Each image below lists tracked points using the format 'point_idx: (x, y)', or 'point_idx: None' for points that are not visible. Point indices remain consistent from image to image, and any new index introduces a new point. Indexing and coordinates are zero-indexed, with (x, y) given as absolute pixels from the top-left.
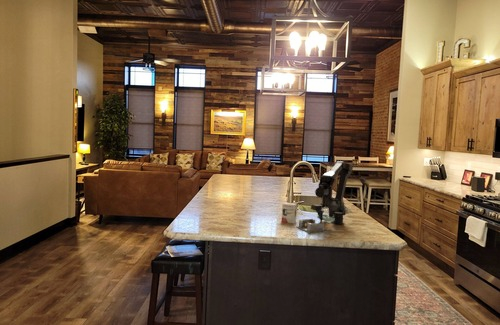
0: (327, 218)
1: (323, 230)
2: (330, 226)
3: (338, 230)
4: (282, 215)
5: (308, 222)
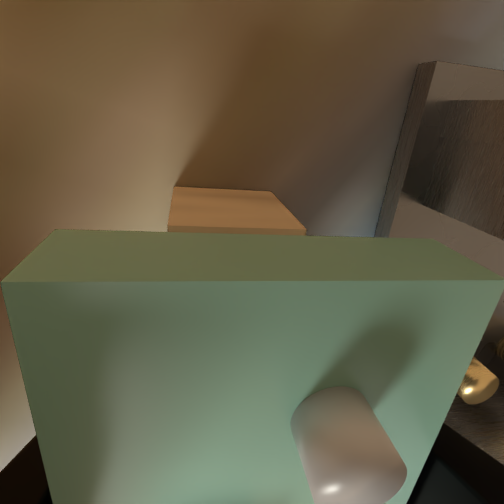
0: (415, 315)
1: (461, 95)
2: (206, 204)
3: (53, 64)
4: None
5: (470, 430)
